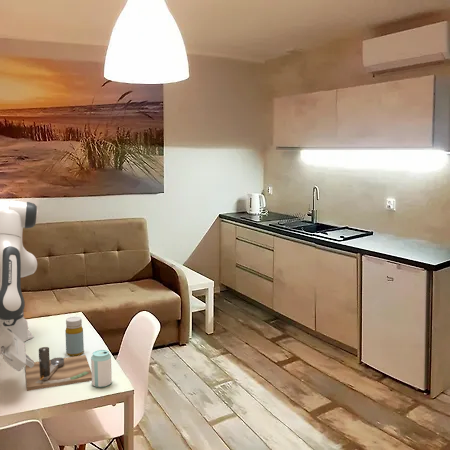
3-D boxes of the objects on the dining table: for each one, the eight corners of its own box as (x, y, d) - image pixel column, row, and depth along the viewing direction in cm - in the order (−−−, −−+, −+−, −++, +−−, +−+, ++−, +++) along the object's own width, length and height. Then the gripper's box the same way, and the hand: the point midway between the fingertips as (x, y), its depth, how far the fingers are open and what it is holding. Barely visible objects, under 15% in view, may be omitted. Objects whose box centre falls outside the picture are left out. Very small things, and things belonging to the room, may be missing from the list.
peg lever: (53, 362, 204) (52, 334, 202) (66, 362, 204) (64, 334, 202) (34, 383, 186) (32, 353, 184) (47, 384, 186) (46, 353, 184)
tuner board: (25, 366, 204) (25, 362, 204) (85, 357, 212) (85, 354, 212) (27, 390, 184) (26, 387, 183) (93, 380, 192) (93, 376, 192)
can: (99, 378, 194) (98, 347, 192) (115, 381, 192) (114, 350, 190) (88, 386, 188) (86, 354, 186) (104, 389, 185) (103, 357, 183)
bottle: (78, 357, 212) (77, 322, 210) (63, 356, 214) (61, 321, 212) (86, 351, 219) (85, 317, 217) (71, 349, 221) (70, 315, 218)
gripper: (8, 346, 173) (40, 369, 178) (8, 326, 191) (37, 347, 196) (-6, 360, 172) (27, 383, 177) (-4, 339, 190) (25, 360, 195)
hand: (32, 364), depth 187 cm, fingers closed
